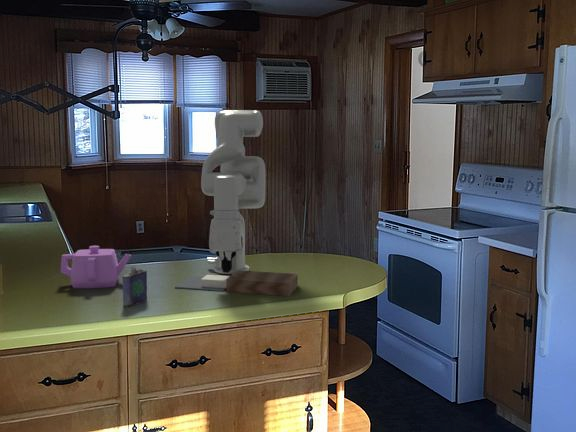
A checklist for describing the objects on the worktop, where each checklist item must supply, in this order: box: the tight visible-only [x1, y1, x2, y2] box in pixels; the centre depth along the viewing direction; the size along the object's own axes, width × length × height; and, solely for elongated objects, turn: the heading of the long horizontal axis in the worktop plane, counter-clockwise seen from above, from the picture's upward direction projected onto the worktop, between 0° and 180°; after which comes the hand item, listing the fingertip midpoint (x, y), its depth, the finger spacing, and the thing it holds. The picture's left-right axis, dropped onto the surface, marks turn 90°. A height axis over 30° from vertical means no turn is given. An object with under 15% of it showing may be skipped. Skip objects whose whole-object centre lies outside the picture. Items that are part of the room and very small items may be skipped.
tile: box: [201, 274, 231, 288], centre depth 211 cm, size 9×6×2 cm, turn 78°
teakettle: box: [60, 245, 132, 289], centre depth 213 cm, size 17×17×12 cm
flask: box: [122, 265, 148, 308], centre depth 192 cm, size 9×3×11 cm, turn 151°
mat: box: [174, 276, 227, 292], centre depth 214 cm, size 16×14×1 cm
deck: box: [226, 270, 299, 297], centre depth 208 cm, size 20×12×4 cm, turn 77°
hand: (226, 271), depth 210 cm, fingers closed
